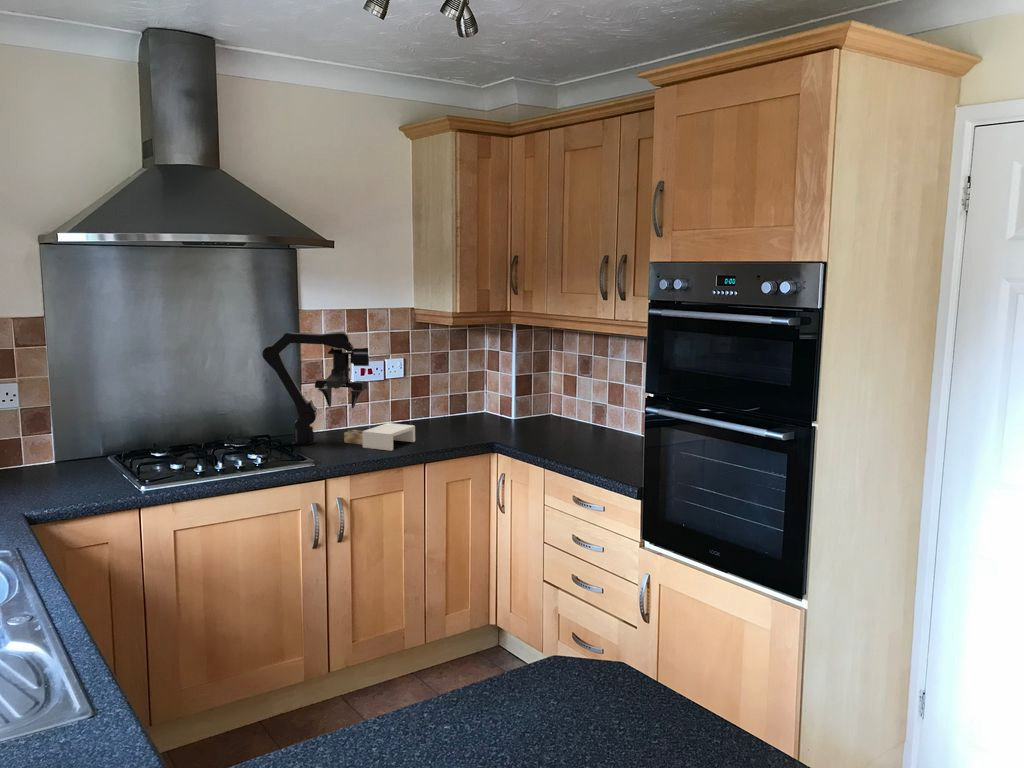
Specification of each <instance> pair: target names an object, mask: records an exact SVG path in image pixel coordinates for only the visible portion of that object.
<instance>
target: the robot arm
mask: <svg viewBox="0 0 1024 768" xmlns="http://www.w3.org/2000/svg"><path fill="white" fill-rule="evenodd" d="M290 344H303V345H305V344H307V345H323V346H328V347H331V348H330V349H329V350H328V351H327V354H328V355H332V369H331V373H330V375H328V377H327V378H320V379H317V380H315V382H314V388H315V389H317V390H318V391H320V392H321V393H322V394H323V395H324V398H325V401H326V403H327V406H328V407H329V408H330V407H331V406H332V396H333V395H332V391H333V389H336V390H338V389H340V388H351V389H352V390H351V391H350V393H351V409H354V408H355V406H356V403H357V401H358V398H359V397H360V395H361V393H362V392H364V391H365V390H367V389H368V383H367V381H365V380H363V381H362V380H355V381H352V382H351V378H350V372H351V368H350V364H352V365H353V367H369V366H370V356H369V347H355V346H354V345H353V344H352V343H351V342H350V338H349V335H348V333H346V332H345V331H333V332H329V333H309V332H308V333H305V332H292V331H287V332H286V333H283V336H282V337H281V338H280V339H278V340H277V341H276V342H275V343H274V344H269V345H267V346H266V347H265V348H264V349H263V351H262V358H263V359H264V361H265V362H266V363H267V365H269V366H270V367H271V368H272V370H274V371H275V372H276V374H277V376H278V378H279V380H280V382H281V383H282V384H283V386H284V388H285V390H286V392H288V395H289V396H290V397H291V399H292V402H294V406H295V408H296V412H297V415H298V418H297V419H296V420H295V422H294V424H293V426H294V427H293V438H294V439H293V442H291V445H298V446H299V445H300V446H303V447H304V446H305V447H306V446H309V445H311V444H315V443H316V440H315V435H314V434H315V433H314V432H315V431H314V428H313V426H311V425H312V424H314V422H315V421H316V419H317V416H318V412H317V411H318V408H317V407H316V406H315V405H314V402H313V400H312V399H310V400H309V401H308V400H307V398H305V396H304V395H303V392H301V389H300V388H299V386H298V385H297V382H296V380H295V379H294V378H293V376H292V374H291V373H290V371H289V370H288V367H287V366H286V363H285V362H286V361H285V359H284V356H283V353H282V351H284V349H285V348H287V347H288V346H289V345H290ZM344 350H345V351H344ZM349 357H350V359H349Z"/></svg>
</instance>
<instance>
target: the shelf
mask: <svg viewBox="0 0 1024 768" xmlns="http://www.w3.org/2000/svg"><path fill="white" fill-rule="evenodd" d="M361 431H362V439H363V445H362V448H363V449H373V450H382V451H383V450H384V451H390V452H391V451H394V441H399V442H407V443H408V442H409V443H415V442H416V426H415V425H413V424H402V423H390V422H387V423H383V424H381V425H377V426H374V427H371V428H368V429H365V430H361Z"/></svg>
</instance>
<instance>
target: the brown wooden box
mask: <svg viewBox="0 0 1024 768" xmlns="http://www.w3.org/2000/svg"><path fill="white" fill-rule="evenodd" d="M362 431H363V430H356V429H352V430H348V431H345V432H343V437H344V439H343V441H344V443H345V444H346V443H347V444H355V445H362V446H363V439H362Z"/></svg>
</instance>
